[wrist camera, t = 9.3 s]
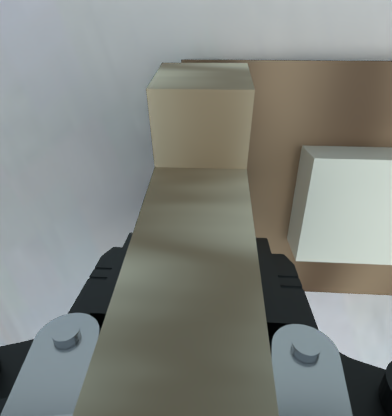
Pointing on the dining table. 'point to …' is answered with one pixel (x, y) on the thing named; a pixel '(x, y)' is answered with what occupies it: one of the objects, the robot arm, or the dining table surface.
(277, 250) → the walnut plate
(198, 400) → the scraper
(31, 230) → the dining table surface
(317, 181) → the cream tile
